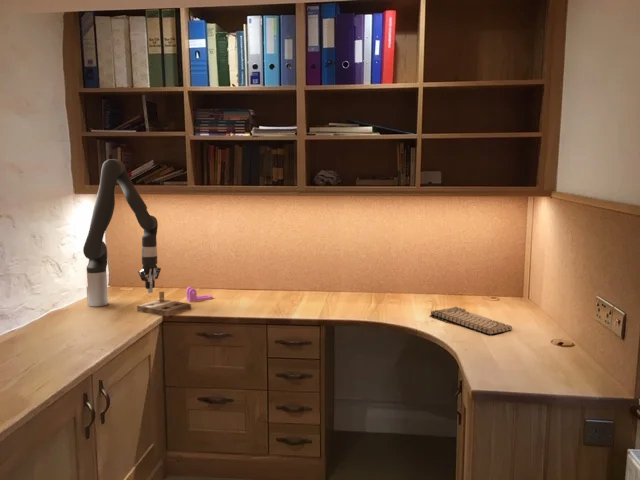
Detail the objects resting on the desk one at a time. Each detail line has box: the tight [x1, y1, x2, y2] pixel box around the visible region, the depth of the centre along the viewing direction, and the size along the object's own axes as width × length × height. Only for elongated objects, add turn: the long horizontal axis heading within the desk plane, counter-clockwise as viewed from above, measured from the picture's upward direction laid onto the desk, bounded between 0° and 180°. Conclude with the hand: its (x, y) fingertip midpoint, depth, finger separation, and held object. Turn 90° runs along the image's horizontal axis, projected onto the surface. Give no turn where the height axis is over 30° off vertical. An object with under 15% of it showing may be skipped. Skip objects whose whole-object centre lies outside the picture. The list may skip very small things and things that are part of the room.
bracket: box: [186, 286, 213, 303], centre depth 285 cm, size 13×6×7 cm, turn 120°
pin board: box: [136, 291, 192, 317], centre depth 264 cm, size 20×16×8 cm
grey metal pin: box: [147, 275, 154, 294], centre depth 274 cm, size 2×2×9 cm
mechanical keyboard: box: [429, 306, 514, 337], centre depth 244 cm, size 38×19×3 cm, turn 33°
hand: (150, 288), depth 274 cm, fingers closed on grey metal pin, 2 cm apart
